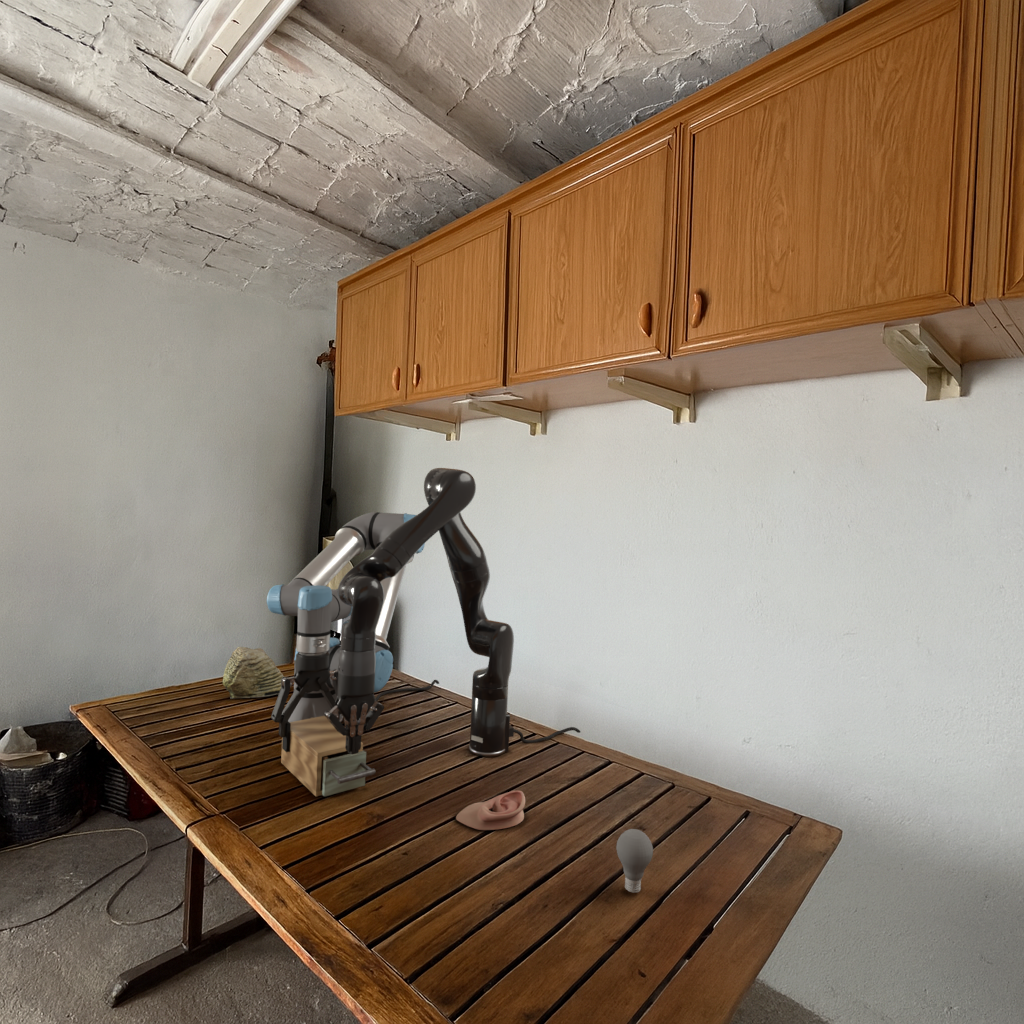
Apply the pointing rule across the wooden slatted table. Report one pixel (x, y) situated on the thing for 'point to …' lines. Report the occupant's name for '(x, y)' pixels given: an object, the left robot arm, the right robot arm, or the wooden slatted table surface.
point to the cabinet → (312, 750)
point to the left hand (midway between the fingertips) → (309, 744)
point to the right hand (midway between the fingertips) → (353, 752)
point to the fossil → (251, 674)
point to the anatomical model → (495, 812)
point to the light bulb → (634, 857)
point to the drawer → (344, 772)
